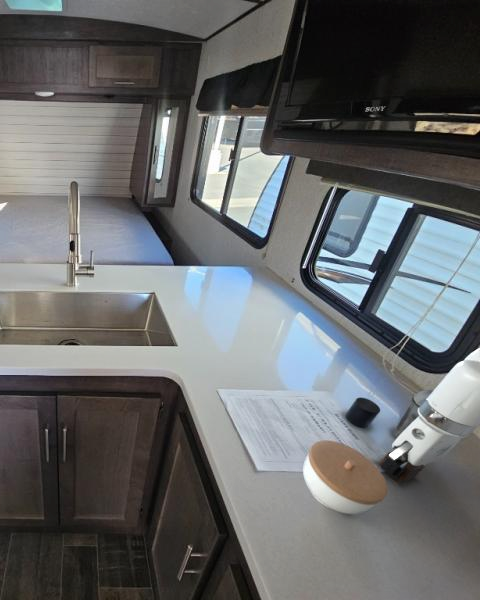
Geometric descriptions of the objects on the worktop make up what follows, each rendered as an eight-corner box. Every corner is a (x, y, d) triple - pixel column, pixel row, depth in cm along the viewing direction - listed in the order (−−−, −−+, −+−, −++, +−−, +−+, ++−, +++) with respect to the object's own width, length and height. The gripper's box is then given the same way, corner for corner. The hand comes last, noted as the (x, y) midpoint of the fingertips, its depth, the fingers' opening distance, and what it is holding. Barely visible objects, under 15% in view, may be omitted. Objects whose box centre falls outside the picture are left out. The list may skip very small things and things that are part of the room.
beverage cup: (388, 420, 85) (433, 364, 75) (425, 438, 81) (478, 381, 70) (384, 437, 81) (432, 379, 70) (423, 457, 76) (480, 398, 66)
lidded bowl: (317, 525, 63) (343, 495, 57) (282, 464, 73) (301, 433, 68) (380, 526, 63) (412, 496, 57) (336, 465, 74) (359, 434, 68)
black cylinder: (354, 411, 88) (365, 395, 84) (373, 426, 83) (385, 410, 80) (340, 414, 86) (351, 399, 83) (358, 430, 82) (370, 414, 79)
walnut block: (392, 459, 75) (403, 448, 73) (413, 478, 72) (425, 466, 69) (378, 464, 74) (388, 452, 72) (399, 483, 71) (410, 471, 68)
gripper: (439, 442, 58) (386, 496, 68) (499, 423, 62) (441, 477, 72) (395, 409, 64) (352, 463, 74) (452, 394, 68) (405, 447, 78)
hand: (397, 469), depth 73 cm, fingers closed on walnut block, 4 cm apart
